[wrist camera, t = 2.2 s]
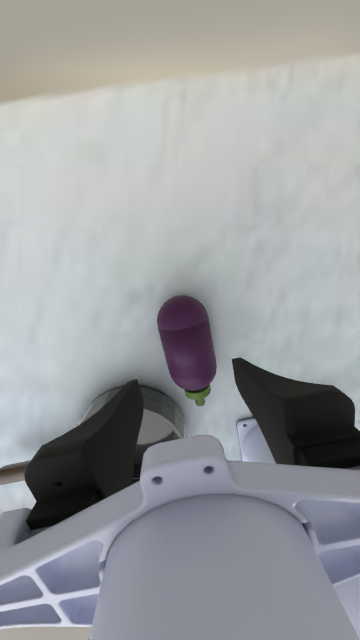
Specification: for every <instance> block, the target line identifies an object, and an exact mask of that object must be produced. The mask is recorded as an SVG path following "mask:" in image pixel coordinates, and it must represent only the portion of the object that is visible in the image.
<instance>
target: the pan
mask: <svg viewBox="0 0 360 640" xmlns="http://www.w3.org/2000/svg"><path fill="white" fill-rule="evenodd" d="M121 388H122V387H121ZM121 388H117V389H112V390H110V391H108V392H106V393H104V394H102V395H100V396H99V397H97V398H96V399H95V400H94V401H93V403H92V404H91V405H90V406H89V407H88V408H87V410H86V411H85V413H84V415H83V416H82V418H81V420H80V421H79V423H78V424H77V426H79V425H80V424H81V423H83V422H84V421H86V420H87V419H89V418H90V417H91V416H93V415H94V414H95V413H96V412H98V411H99V410H100V409H101V408H102V407H103V406H104V405H105V404H107V403H108V402H109V401H110V400H111V399H112V398H113V397H114V396H115V395H116V394H117V393H118V392H119V391H120V390H121ZM140 390H141V393H142V397H143V400H144V412H143V418H142V423H141V427H140V432H139V436H138V441H137V445H136V451H135V459H134V468H133V478H132V484H134V483H136V482H138V481H140V474H141V467H142V461H143V455H144V453H145V452H146V450H147V449H148V448H149V447H151V446H153V445H155V444H158V443H162V442H167V441H172V440H177V439H182V438H187V435H186V425H185V421H184V417H183V414H182V413H181V411H180V410H179V408H178V407H177V405H176V404H175V403H174V402H173V401H172V400H171V399H169V398H168V397H167V396H165V395H164V394H163V393H160V392H158V391H156V390H153V389H150V388H146V387H140ZM77 426H76V427H77Z"/></svg>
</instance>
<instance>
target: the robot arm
mask: <svg viewBox="0 0 360 640" xmlns="http://www.w3.org/2000/svg"><path fill="white" fill-rule="evenodd" d="M232 363H233V370H234V376H235V382H236V385H237V387H238V390H239V392H240V394H241V396H242V398H243V400H244V401H245V403H246V405H247V406H248V408H249V410H250V411H251V413H252V415H253V416H254V418H252V419H247V420H242V421H238V422H237V430H238V436H239V442H240V449H241V455H242V461H230V460H227V459H226V458H225V454H224V450H223V447H222V445H221V443H220V441H219V440H218V439H217V438H215V437H213V436H211V435H196V436H191V437H187V438H182V439H177V440H172V441H167V442H162V443H158V444H155V445H153V446H151V447H149V448H148V449H147V450H146V452H145V453H144V455H143V461H142V467H141V474H140V481H138V482H136V483H134V484H132V478H133V468H134V459H135V451H136V445H137V441H138V436H139V432H140V427H141V423H142V418H143V412H144V400H143V397H142V393H141V390H140V387H139V384H138V381H137V379H136V380H131V381H129V382H127V383H126V384H125V385H124V386H123V387H122V388H121V390H120V391H119V392H118V393H117V394H116V395H115V396H114V397H113V398H112V399H111V400H110V401H109V402H108V403H107V404H105V405H104V406H103V407H102V408H101V409H100V410H99V411H98V412H96V413H95V414H94V415H93V416H91V417H90V418H89V419H87V420H86V421H84V422H83V423H81V424H80V425H79V426H77V427H75V428H74V429H72V430H71V431H69V432H67V433H65V434H64V435H62V436H60V437H58V438H56V439H54V440H52V441H50V442H48V443H46V444H44V445H42V446H41V448H40V449H39V450H38V452H37V453H36V454H35V456H34V457H33V459H32V460H31V461H30V463H29V464H28V465H27V467H26V469H25V472H24V478H25V481H26V484H27V486H28V487H29V489H30V491H31V492H32V494H33V496H34V497H35V499H36V501H37V502H36V504H35V506H34V507H33V509H32V510H31V509H29V508H22V509H17V510H12V511H7V512H4V513H2V515H1V516H0V629H4V628H15V627H33V626H60V627H61V626H62V627H91V631H90V635H89V640H360V431H359V430H358V429H357V428H356V427H354V424H355V407H354V403H353V401H352V400H351V399H350V398H349V397H348V396H347V395H345V394H344V393H343V392H341V391H340V390H339V389H337V388H336V387H334V386H333V385H322V384H313V383H307V382H301V381H296V380H292V379H288V378H285V377H281V376H279V375H276V374H273V373H270V372H268V371H266V370H263V369H261V368H259V367H257V366H255V365H253V364H251V363H250V362H248V361H246V360H244V359H242V358H235V359H232Z"/></svg>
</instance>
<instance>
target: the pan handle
mask: <svg viewBox="0 0 360 640" xmlns="http://www.w3.org/2000/svg"><path fill="white" fill-rule="evenodd" d="M29 463H30V461H26V462H21V463H16V464H11V465H6V466H4V467H2V468H0V485H3V484H8V483H13V482H18V481H23V480H25V478H24V472H25V469H26V467H27V465H28V464H29Z"/></svg>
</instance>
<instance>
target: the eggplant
mask: <svg viewBox="0 0 360 640" xmlns="http://www.w3.org/2000/svg"><path fill="white" fill-rule="evenodd" d="M157 324H158V329H159V333H160V337H161V341H162V345H163V349H164V353H165V357H166V361H167V365H168V369H169V372H170V375H171V377H172V379H173V381H174V382H175V383H176V384H177V385H178V386H179V387H181V388H183V389H184V390H185V394H186V396H187V397H188V398H190V399H193V400H195V401H196V405H197V406H203V405H204V404H205V400H204V398H205V397H206V396H208V395H209V393H210V391H211V389H210V383H211V381H212V380H213V378H214V376H215V374H216V358H215V353H214V347H213V342H212V336H211V330H210V325H209V319H208V315H207V312H206V309H205V308H204V306H203V305H202V304H201V303H200V302H199V301H198V300H197V299H195V298H193V297H190V296H183V295H181V296H175V297H173V298H171V299H169V300H168V301H166V302H165V303H164V304H163V306H162V307H161V309H160V311H159V313H158V318H157Z"/></svg>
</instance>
